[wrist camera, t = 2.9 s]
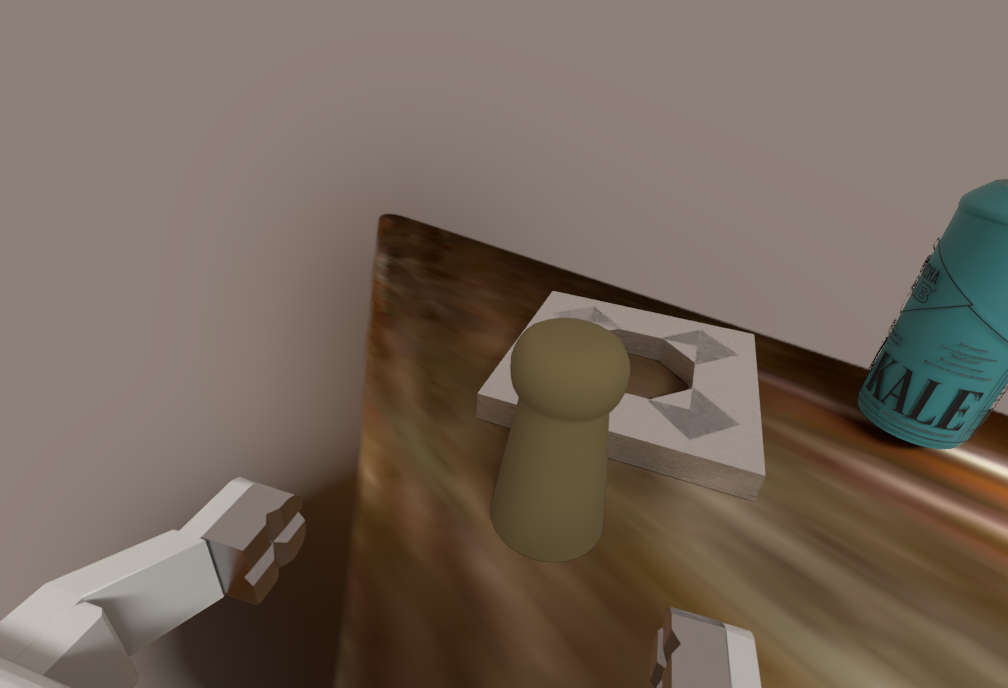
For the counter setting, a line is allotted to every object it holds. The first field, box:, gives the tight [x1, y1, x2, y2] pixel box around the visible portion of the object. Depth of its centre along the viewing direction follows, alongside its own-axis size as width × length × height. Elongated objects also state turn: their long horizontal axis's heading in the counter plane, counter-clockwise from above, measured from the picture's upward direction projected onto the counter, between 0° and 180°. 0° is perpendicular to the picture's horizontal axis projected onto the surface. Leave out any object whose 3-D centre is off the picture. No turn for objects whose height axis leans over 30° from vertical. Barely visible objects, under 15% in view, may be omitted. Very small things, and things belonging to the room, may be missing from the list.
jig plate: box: [476, 291, 766, 501], centre depth 38 cm, size 17×17×2 cm
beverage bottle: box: [858, 179, 1008, 449], centre depth 30 cm, size 6×7×20 cm
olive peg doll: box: [491, 318, 630, 562], centre depth 24 cm, size 6×6×11 cm
